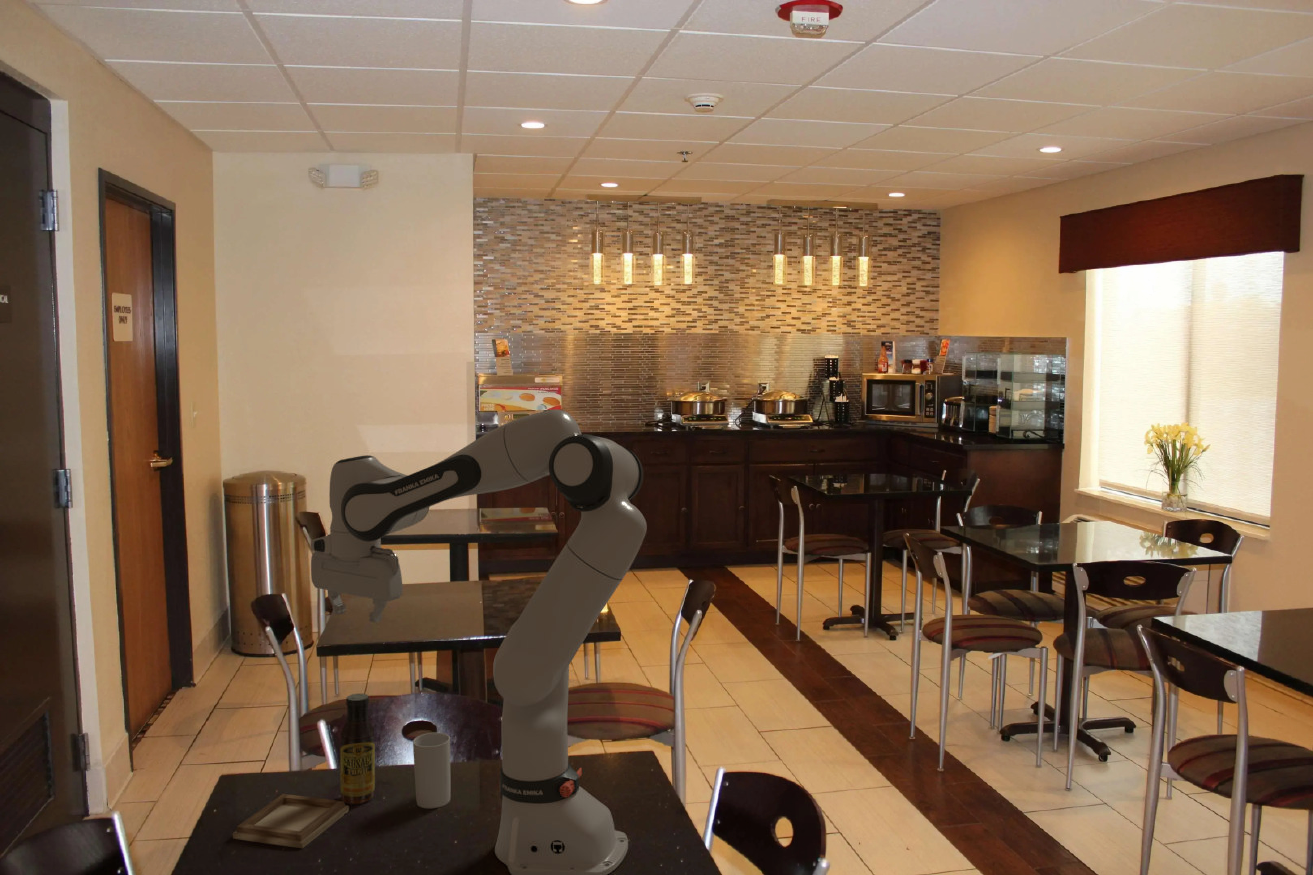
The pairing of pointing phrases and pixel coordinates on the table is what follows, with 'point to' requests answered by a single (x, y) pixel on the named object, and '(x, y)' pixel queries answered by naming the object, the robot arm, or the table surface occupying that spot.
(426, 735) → the mug
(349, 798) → the sauce bottle
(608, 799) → the table surface
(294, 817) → the seat plate
